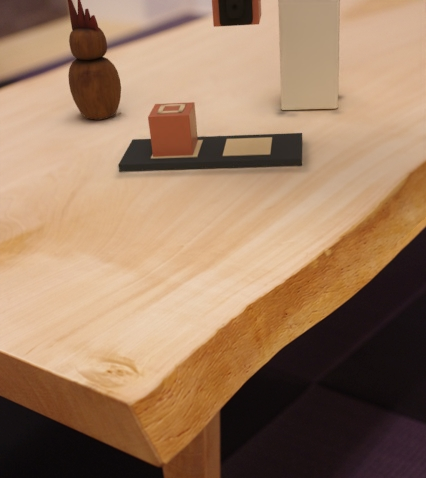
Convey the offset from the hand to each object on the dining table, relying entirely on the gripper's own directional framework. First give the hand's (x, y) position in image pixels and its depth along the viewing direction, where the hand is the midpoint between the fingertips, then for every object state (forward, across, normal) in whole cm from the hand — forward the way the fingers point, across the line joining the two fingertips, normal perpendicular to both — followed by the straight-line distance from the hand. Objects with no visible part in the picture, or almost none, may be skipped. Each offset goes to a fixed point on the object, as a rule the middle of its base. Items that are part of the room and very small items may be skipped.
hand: (238, 16), depth 74 cm
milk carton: (+15, +19, -7) cm, 25 cm away
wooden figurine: (+15, +17, +21) cm, 31 cm away
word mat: (+15, +1, +4) cm, 15 cm away
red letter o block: (+14, +1, +8) cm, 16 cm away
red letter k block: (0, 0, 0) cm, 0 cm away
